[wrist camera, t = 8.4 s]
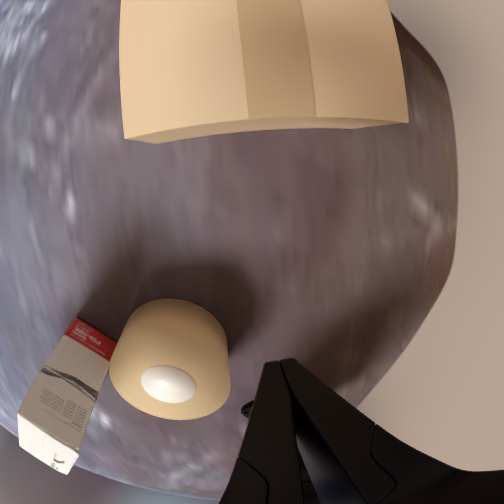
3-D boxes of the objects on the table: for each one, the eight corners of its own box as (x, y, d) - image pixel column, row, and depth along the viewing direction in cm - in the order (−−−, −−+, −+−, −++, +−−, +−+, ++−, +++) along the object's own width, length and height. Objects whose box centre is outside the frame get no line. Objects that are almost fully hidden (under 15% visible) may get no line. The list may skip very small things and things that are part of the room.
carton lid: (402, 123, 12) (409, 122, 11) (128, 139, 11) (124, 138, 10) (377, -10, 9) (383, -14, 8) (125, -11, 8) (122, -17, 7)
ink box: (75, 313, 20) (14, 410, 9) (120, 342, 21) (81, 452, 10) (57, 365, 22) (16, 447, 11) (95, 389, 23) (66, 476, 12)
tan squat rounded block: (247, 350, 23) (255, 392, 18) (175, 391, 24) (171, 431, 19) (177, 277, 20) (167, 313, 15) (106, 332, 21) (87, 370, 16)
